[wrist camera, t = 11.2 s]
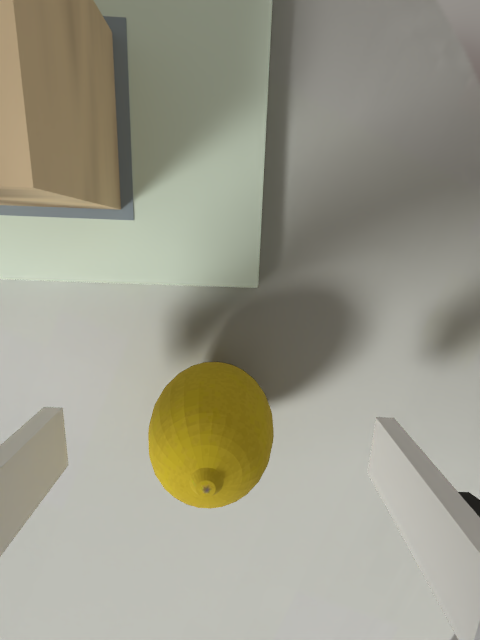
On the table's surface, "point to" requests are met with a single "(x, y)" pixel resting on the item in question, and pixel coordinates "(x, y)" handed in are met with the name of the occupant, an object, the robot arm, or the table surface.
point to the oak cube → (57, 106)
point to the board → (168, 156)
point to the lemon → (210, 435)
